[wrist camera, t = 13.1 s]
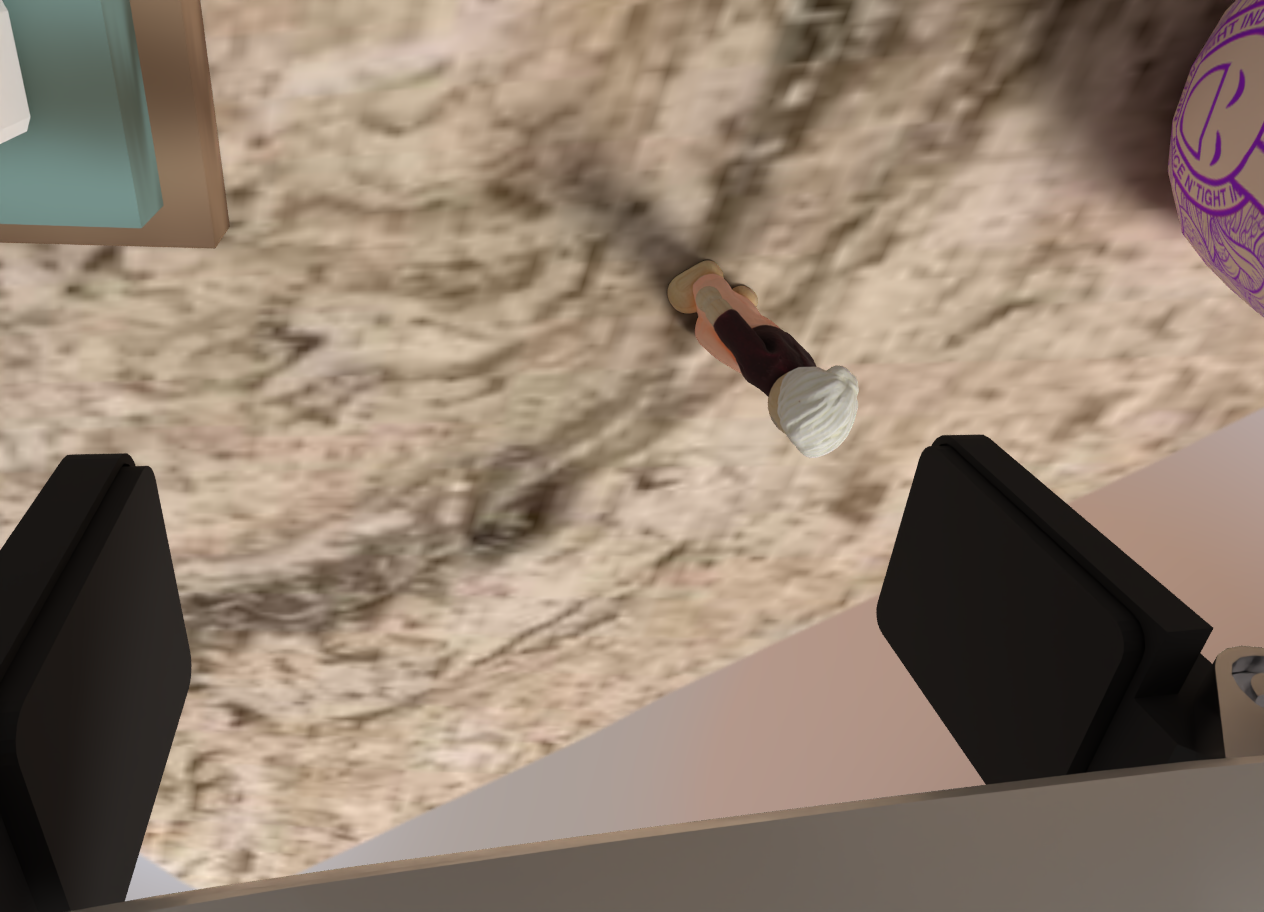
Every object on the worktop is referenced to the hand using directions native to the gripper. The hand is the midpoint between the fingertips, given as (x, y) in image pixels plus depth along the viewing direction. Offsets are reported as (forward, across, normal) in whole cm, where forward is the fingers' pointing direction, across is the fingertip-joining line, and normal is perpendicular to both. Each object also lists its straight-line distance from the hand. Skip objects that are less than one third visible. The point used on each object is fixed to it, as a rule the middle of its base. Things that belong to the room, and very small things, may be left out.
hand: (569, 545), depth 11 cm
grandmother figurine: (+28, -12, +7) cm, 32 cm away
